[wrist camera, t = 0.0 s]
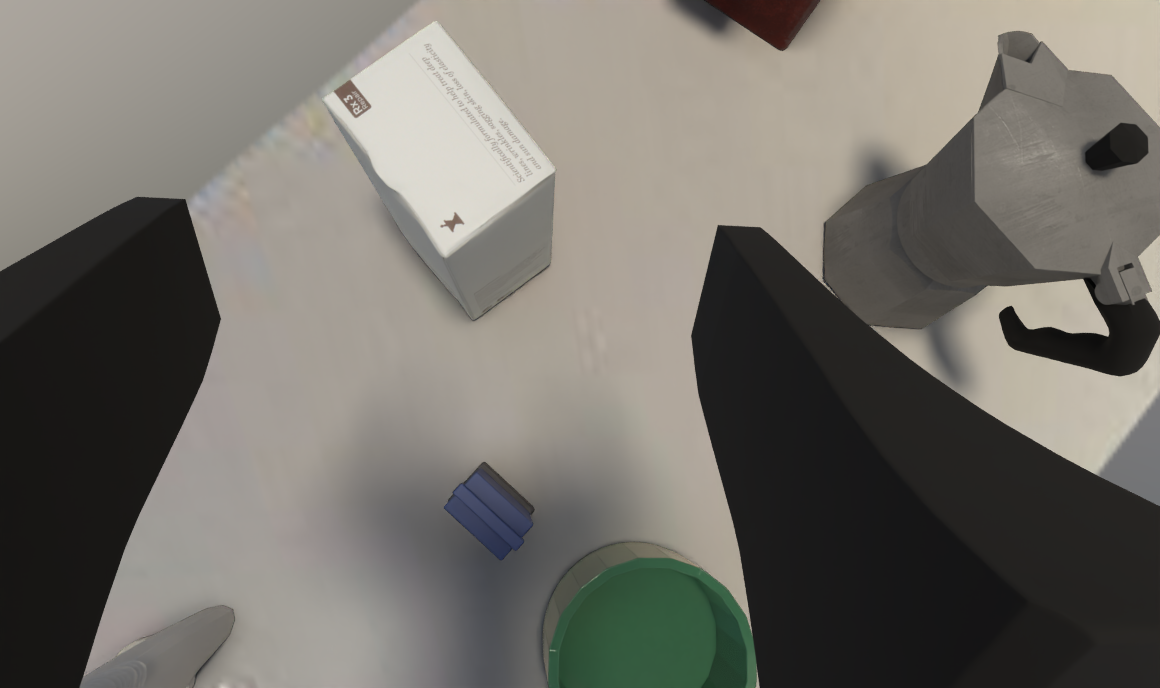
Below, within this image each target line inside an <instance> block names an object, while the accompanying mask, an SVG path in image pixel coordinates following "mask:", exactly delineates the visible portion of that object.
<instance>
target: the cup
mask: <svg viewBox="0 0 1160 688" xmlns="http://www.w3.org/2000/svg"><path fill="white" fill-rule="evenodd" d="M543 658H544V664H545V670H546V676H547V682H548V687H549V688H755V687H756V682H757V665H756V656H755V649H754V642H753V636H752V633H751V630H750V626H749V623H748V620H747V617H746V615H745V613H744V612H743V610H742V609H741V608H740V606H739V605H738V603H737V602H736V600H735V599H734V597H733V596H732V595H731V593H730V592H729V590H728V589H727V588H726V587H725V586H724V585H722V584H721V583H720V582H718V581H717V580H716V579H714V578H713V577H712V576H711V575H709V574H708V573H707V572H705V571H704V570H703V569H701V568H700V567H698V566H697V565H695V564H694V563H692V562H690V561H689V560H687V559H686V558H684V557H683V556H681V555H680V554H678V553H676V552H673V551H671V550H669V549H666V548H663V547H661V546H658V545H654V544H650V543H642V542H624V543H618V544H613V545H609V546H606V547H603V548H600V549H598V550H596V551H594V552H592V553H590V554H589V555H587V556H586V557H584V558H583V559H581V560H580V561H579V562H578V563H576V564H575V565H574V566H573V567H572V568H571V569H570V570H569V571H568V572H567V573H566V574H565V576H564V577H563V578H562V579H561V581H560V582H559V584H558V585H557V587H556V589H555V591H554V593H553V595H552V597H551V599H550V601H549V604H548V607H547V610H546V614H545V619H544V624H543Z"/></svg>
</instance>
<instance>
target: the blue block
mask: <svg viewBox="0 0 1160 688" xmlns="http://www.w3.org/2000/svg"><path fill="white" fill-rule="evenodd" d="M444 509H445V510H446V511H448V512H449V513H450V514H451V515H452V516H453V517H454V518H455V519H456V520H457V521H458V522H459V523H460V524H462V525H463V526H464V527H465V528H466V529H467V530H468V531H469V532H470V533H471V534H472V535H473V536H475V537H476V538H477V539H478V540H479V541H480V542H481V543H482V544H483V545H484V546H485V547H486V548H487V549H489V550H490V551H491V552H492V553H493V554H494V555H495V556H496V557H497V558H498V559H499V560H503V558H504V557H505V556H506V555H507V554H508V553H509V552H510V551H511V549H513V550H514V551H517V550H518V549H519V547H520V546H521V545H522V544H523V543H524V539H523V538H522V537H523V536H524V535H525V534H526V533H527V531H528V530H529V529H530V528H531V527H532V526H533V522H532V519H531V516H530V515H531V514H532V513H533V512H534V507H533V506H532V505H531V504H530V503H529V502H528V501H527V500H526V499H525V498H523V497H522V496H521V495H520V494H519V493H518V492H517V491H516V490H515V489H514V488H513V487H512V486H510V485H509V484H508V483H507V482H506V481H505V480H504V479H503V478H502V477H501V476H500V475H499V474H497V473H496V472H495V471H494V470H493V469H492V468H491V467H490V466H489V465H488V464H487V463H486V462H483V463H482V464H481V465H480V466H479V467H478V468H477V469H476V470H475V471H474V472H473V473H472V475H471V476H470V477H469V478H468V479H467V480H466V481H465V482H464V483H461V484H460V485H459V486H458V487H457V488H456V489H455V490H454V491H453V495H452V496H451V497H450V499H449V500H448V503H447V504H446V505H445V506H444Z"/></svg>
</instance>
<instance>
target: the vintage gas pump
mask: <svg viewBox="0 0 1160 688" xmlns="http://www.w3.org/2000/svg"><path fill="white" fill-rule="evenodd" d="M705 1H706V2H708V3H709V4H711V5H712V6H714V7H715V8H717V9H718V10H720V11H721V12H723V13H724V14H726V15H727V16H729V17H730V18H732V19H733V20H735V21H736V22H738V23H739V24H741V25H742V26H744V27H745V28H747V29H749V30H750V31H752V32H753V33H755V34H756V35H758V36H759V37H761V38H762V39H764V40H765V41H767V42H768V43H770V44H771V45H773V46H774V47H776V48H777V49H779V50H782V51H783V50H785V49H786V48H787V47H788V45H789V44H790V43H791V41H792V40H793V38H794V37H795V36H796V34H797V33H798V31H799V30H800V28H801V27H802V26H803V24H804V23H805V21H806V20H807V19H808V17H809V16H810V14H811V13H812V11H813V10H814V9H815V7H816V6H817V4H818V3H819V2H820V0H705Z"/></svg>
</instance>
